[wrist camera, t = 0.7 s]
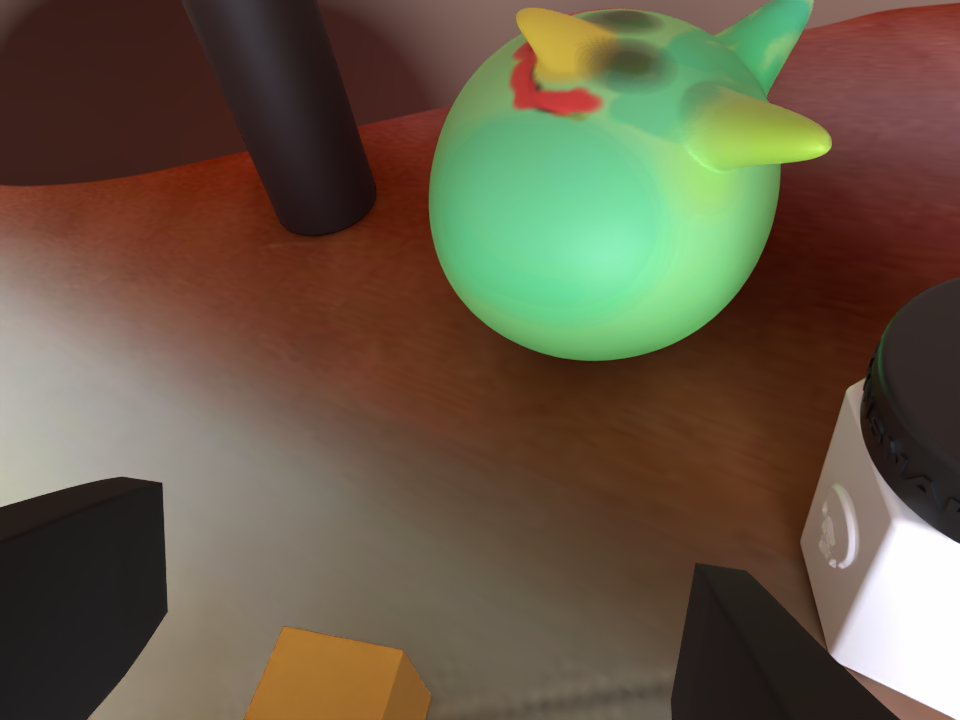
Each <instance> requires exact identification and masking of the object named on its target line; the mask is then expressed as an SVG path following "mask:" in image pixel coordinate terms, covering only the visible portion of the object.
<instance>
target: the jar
mask: <svg viewBox="0 0 960 720" xmlns="http://www.w3.org/2000/svg"><path fill="white" fill-rule="evenodd" d="M800 545H801V549H802V552H803V556H804V560H805V564H806V568H807V572H808V575H809V579H810V583H811V587H812V591H813V595H814V599H815V602H816V606H817V610H818V614H819V618H820V622H821V626H822V630H823V633H824V637H825V641H826V645H827V649H828V653H829V654H830V655H831V656H832V657H833V658H834V659H835V660H836V661H837V662H838V663H839V664H841V665H843V666H845V667H847V668H850V669H852V670H854V671H856V672H858V673H860V674H862V675H864V676H866V677H868V678H870V679H873V680H875V681H877V682H879V683H881V684H883V685H885V686H887V687H889V688H891V689H893V690H895V691H898V692H900V693H902V694H904V695H906V696H908V697H910V698H912V699H914V700H916V701H918V702H921V703H923V704H925V705H927V706H929V707H931V708H933V709H935V710H937V711H939V712H941V713H943V714H946V715H948V716H950V717H952V718H954V719H956V720H960V277H957V278H954V279H951V280H948V281H945V282H942V283H940V284H937V285H935V286H933V287H931V288H928V289H927V290H925V291H923V292H921V293H920V294H918V295H916V296H915V297H914V298H912V299H911V300H909V301H908V302H907V303H906V304H905V305H904V306H902V307H901V308H900V309H899V310H898V312H897V313H896V314H895V315H894V316H893V318H892V319H891V320H890V322H889V324H888V325H887V327H886V329H885V331H884V333H883V335H882V338H881V339H880V341H879V343H878V345H877V347H876V349H875V351H874V352H873V355H872V358H871V361H870V364H869V367H868V370H867V373H866V378H864V379H863V380H861V381H859V382H857V383H855V384H854V385H852V386H850V387H849V388H848V389H847V390H846V393H845V397H844V400H843V403H842V406H841V409H840V413H839V416H838V419H837V422H836V426H835V429H834V432H833V435H832V439H831V442H830V445H829V448H828V452H827V455H826V458H825V461H824V465H823V468H822V471H821V474H820V478H819V481H818V484H817V487H816V491H815V494H814V497H813V500H812V504H811V507H810V510H809V513H808V517H807V520H806V523H805V526H804V530H803V533H802V536H801V539H800Z"/></svg>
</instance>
